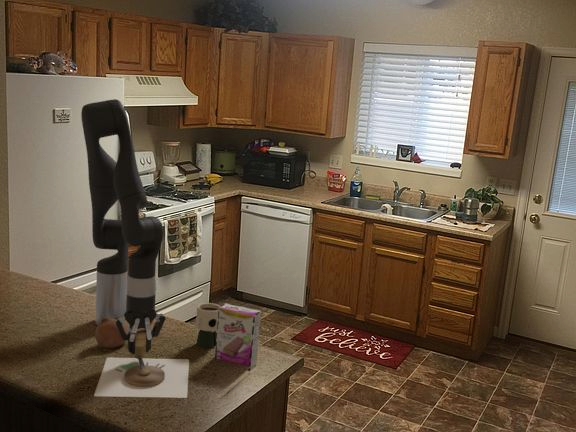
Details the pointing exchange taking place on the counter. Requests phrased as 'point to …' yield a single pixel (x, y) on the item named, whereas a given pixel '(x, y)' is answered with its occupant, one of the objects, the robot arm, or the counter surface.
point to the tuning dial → (143, 373)
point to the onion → (109, 334)
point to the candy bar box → (237, 334)
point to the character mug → (207, 324)
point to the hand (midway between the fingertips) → (139, 352)
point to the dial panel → (170, 387)
